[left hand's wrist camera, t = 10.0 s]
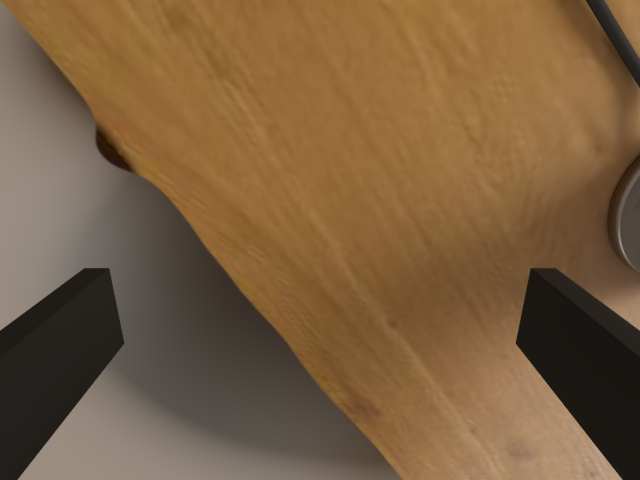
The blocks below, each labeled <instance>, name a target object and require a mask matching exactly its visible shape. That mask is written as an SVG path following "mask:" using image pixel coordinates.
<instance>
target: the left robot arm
mask: <svg viewBox="0 0 640 480" xmlns="http://www.w3.org/2000/svg"><path fill="white" fill-rule="evenodd" d="M586 2H587V3H588V5H589V6H590V8H591V10H592V11H593V13H594V15H595V16H596V18H597V20H598V21H599V23H600V25H601V26H602V28H603V30H604V31H605V33H606V34H607V36H608V38H609V39H610V41H611V42H612V44H613V46H614V47H615V49H616V50H617V52H618V54H619V55H620V57H621V58H622V60H623V62H624V63H625V65H626V66H627V68H628V70H629V71H630V73H631V74H632V76H633V78H634V79H635V81H636V82H637V84H638V86H639V87H640V59H639V57H638V56H637V54H636V52H635V51H634V49H633V47H632V46H631V44H630V43H629V41H628V39H627V38H626V36H625V34H624V33H623V31H622V29H621V28H620V26H619V24H618V23H617V21H616V19H615V18H614V16H613V14H612V13H611V11H610V9H609V8H608V6H607V4H606V2H605V1H604V0H586ZM608 233H609V238H610V242H611V245H612V247H613V249H614V251H615V253H616V254H617V256H618V257H619V258H620V259H621V260H622V261H623V262H624V263H625V264H626V265H627V266H628V267H630V268H631V269H633V270H635V271H637V272H638V273H640V157H639V158H638V159H637V160H636V161H635V162H634V163H633V164H632V165H631V167H630V168H629V169H628V170H627V172H626V173H625V175H624V176H623V178H622V179H621V181H620V183H619V184H618V186H617V188H616V191H615V193H614V195H613V198H612V201H611V204H610V208H609V214H608ZM123 344H124V340H123V335H122V330H121V325H120V320H119V315H118V310H117V305H116V300H115V295H114V290H113V285H112V280H111V275H110V270H109V268H84V269H83V270H82V271H80V272H79V273H78V274H76V275H75V276H73V277H72V278H71V279H69V280H68V281H67V282H65V283H64V284H63V285H61V286H60V287H59V288H57V289H56V290H55V291H53V292H52V293H51V294H49V295H48V296H46V297H45V298H44V299H42V300H41V301H40V302H38V303H37V304H36V305H34V306H33V307H32V308H30V309H29V310H28V311H26V312H25V313H24V314H22V315H21V316H20V317H18V318H17V319H15V320H14V321H13V322H11V323H10V324H9V325H7V326H6V327H5V328H3V329H2V330H1V331H0V480H18V478H19V477H20V476H21V474H22V473H23V472H24V471H25V469H26V468H27V467H28V466H29V464H30V463H31V462H32V460H33V459H34V458H35V457H36V455H37V454H38V453H39V452H40V450H41V449H42V448H43V446H44V445H45V444H46V442H47V441H48V440H49V439H50V437H51V436H52V435H53V434H54V432H55V431H56V430H57V429H58V427H59V426H60V425H61V423H62V422H63V421H64V420H65V418H66V417H67V416H68V414H69V413H70V412H71V411H72V409H73V408H74V407H75V406H76V404H77V403H78V402H79V401H80V399H81V398H82V397H83V395H84V394H85V393H86V392H87V390H88V389H89V388H90V386H91V385H92V384H93V383H94V381H95V380H96V379H97V378H98V376H99V375H100V374H101V372H102V371H103V370H104V369H105V367H106V366H107V365H108V364H109V362H110V361H111V360H112V358H113V357H114V356H115V355H116V353H117V352H118V351H119V349H120V348H121V347H122V346H123ZM516 344H517V346H518V347H519V348H520V349H521V351H522V352H523V353H524V355H525V356H526V357H527V358H528V360H529V361H530V362H531V364H532V365H533V366H534V367H535V369H536V370H537V371H538V372H539V374H540V375H541V376H542V378H543V379H544V380H545V381H546V383H547V384H548V385H549V386H550V388H551V389H552V390H553V392H554V393H555V394H556V395H557V397H558V398H559V399H560V401H561V402H562V403H563V404H564V406H565V407H566V408H567V409H568V411H569V412H570V413H571V415H572V416H573V417H574V418H575V420H576V421H577V422H578V423H579V425H580V426H581V427H582V429H583V430H584V431H585V432H586V434H587V435H588V436H589V437H590V439H591V440H592V441H593V443H594V444H595V445H596V446H597V448H598V449H599V450H600V452H601V453H602V454H603V455H604V457H605V458H606V459H607V460H608V462H609V463H610V464H611V466H612V467H613V468H614V469H615V471H616V472H617V473H618V474H619V476H620V477H621V478H622V480H640V331H639V330H638V329H637V328H635V327H634V326H633V325H631V324H630V323H629V322H627V321H626V320H625V319H623V318H622V317H621V316H619V315H618V314H616V313H615V312H614V311H612V310H611V309H610V308H608V307H607V306H606V305H604V304H603V303H602V302H600V301H599V300H598V299H596V298H595V297H594V296H592V295H591V294H589V293H588V292H587V291H585V290H584V289H583V288H581V287H580V286H579V285H577V284H576V283H575V282H573V281H572V280H571V279H569V278H568V277H567V276H565V275H564V274H563V273H561V272H560V271H558V270H557V269H556V268H531V270H530V275H529V280H528V285H527V290H526V295H525V300H524V305H523V310H522V315H521V320H520V325H519V330H518V335H517V340H516Z"/></svg>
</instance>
